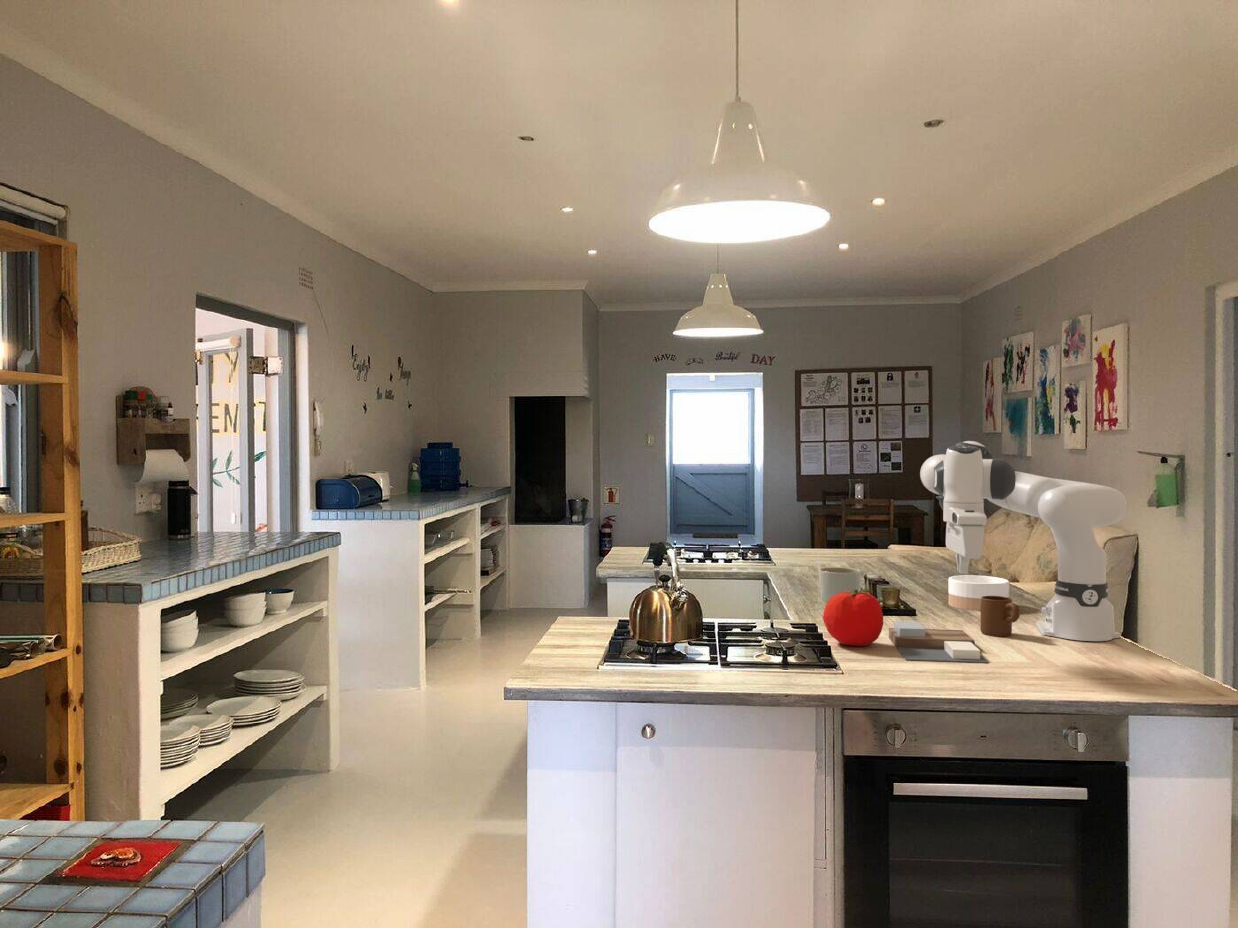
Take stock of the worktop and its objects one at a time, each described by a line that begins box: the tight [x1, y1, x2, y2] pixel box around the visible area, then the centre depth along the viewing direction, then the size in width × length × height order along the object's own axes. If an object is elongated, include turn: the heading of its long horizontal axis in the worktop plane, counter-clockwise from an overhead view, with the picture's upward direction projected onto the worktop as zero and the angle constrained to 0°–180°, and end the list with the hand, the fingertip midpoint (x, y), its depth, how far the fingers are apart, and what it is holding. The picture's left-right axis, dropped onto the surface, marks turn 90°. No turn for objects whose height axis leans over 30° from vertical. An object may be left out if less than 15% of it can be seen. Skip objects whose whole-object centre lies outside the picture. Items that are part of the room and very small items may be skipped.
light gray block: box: [893, 620, 926, 637], centre depth 222 cm, size 9×6×2 cm, turn 172°
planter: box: [818, 566, 862, 605], centre depth 273 cm, size 12×12×11 cm
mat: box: [896, 647, 989, 664], centre depth 209 cm, size 12×18×1 cm, turn 82°
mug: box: [980, 596, 1021, 637], centre depth 231 cm, size 12×8×9 cm, turn 16°
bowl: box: [947, 574, 1010, 612], centre depth 273 cm, size 17×17×8 cm
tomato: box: [822, 588, 884, 647], centre depth 220 cm, size 16×14×14 cm
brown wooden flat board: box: [888, 627, 976, 649], centre depth 221 cm, size 12×18×2 cm, turn 82°
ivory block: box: [944, 641, 981, 659], centre depth 209 cm, size 9×6×2 cm, turn 172°
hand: (962, 573), depth 210 cm, fingers closed
